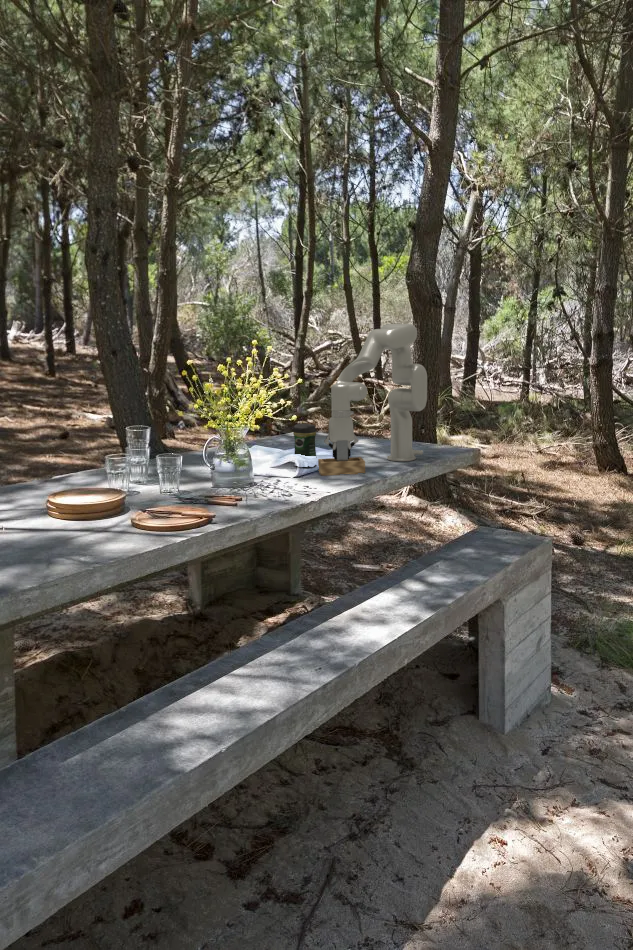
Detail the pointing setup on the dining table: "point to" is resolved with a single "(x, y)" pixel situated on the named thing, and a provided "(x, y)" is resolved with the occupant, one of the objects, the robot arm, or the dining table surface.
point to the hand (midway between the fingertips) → (341, 458)
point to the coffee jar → (305, 439)
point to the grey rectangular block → (342, 451)
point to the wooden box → (341, 466)
